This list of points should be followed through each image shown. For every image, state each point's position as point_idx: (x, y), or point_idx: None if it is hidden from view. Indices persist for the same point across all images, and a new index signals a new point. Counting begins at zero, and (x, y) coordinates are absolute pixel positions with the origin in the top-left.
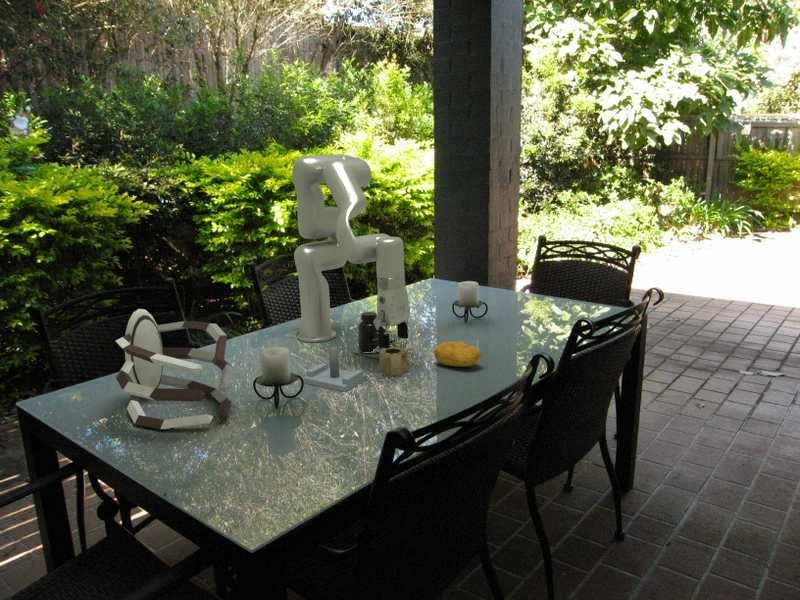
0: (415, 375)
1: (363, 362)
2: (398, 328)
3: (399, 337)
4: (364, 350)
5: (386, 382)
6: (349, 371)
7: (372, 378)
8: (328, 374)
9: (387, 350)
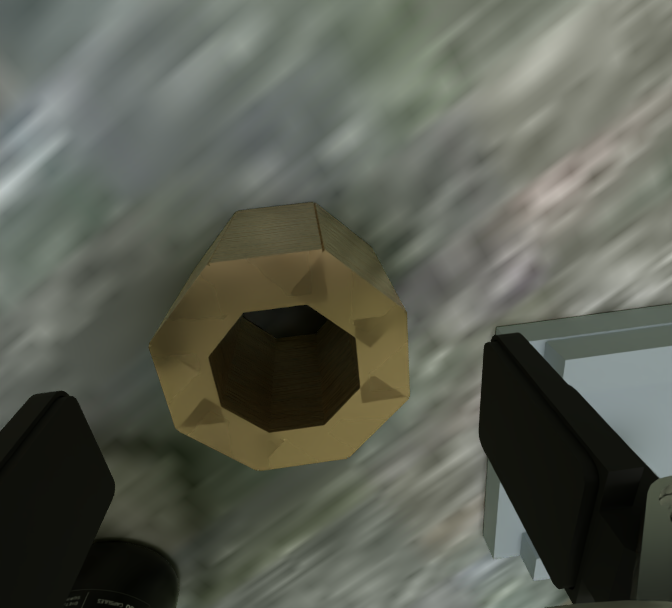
0: (256, 105)
1: (278, 500)
2: (55, 596)
3: (108, 474)
4: (173, 587)
5: (481, 201)
6: None
7: (460, 316)
8: None
9: (281, 424)
